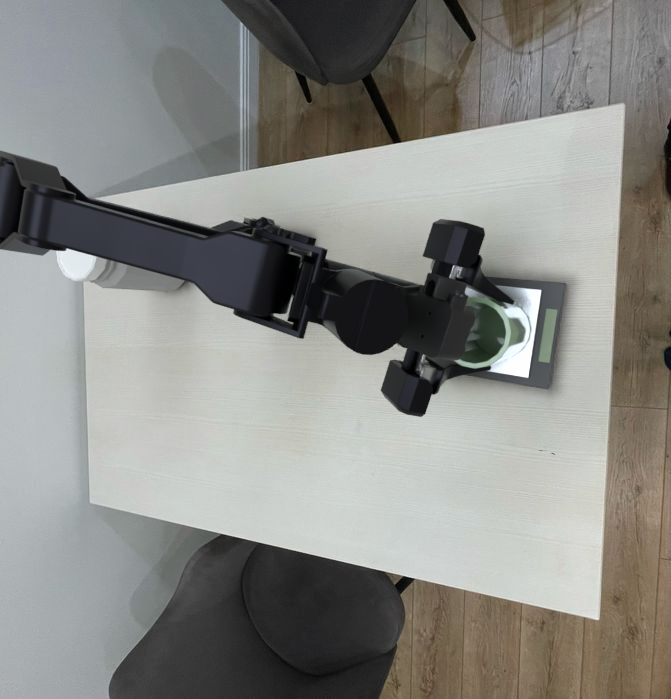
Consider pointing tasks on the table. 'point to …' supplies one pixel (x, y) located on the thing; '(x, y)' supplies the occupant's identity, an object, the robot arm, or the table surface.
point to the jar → (112, 273)
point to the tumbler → (494, 332)
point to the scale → (544, 320)
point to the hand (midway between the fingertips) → (500, 335)
